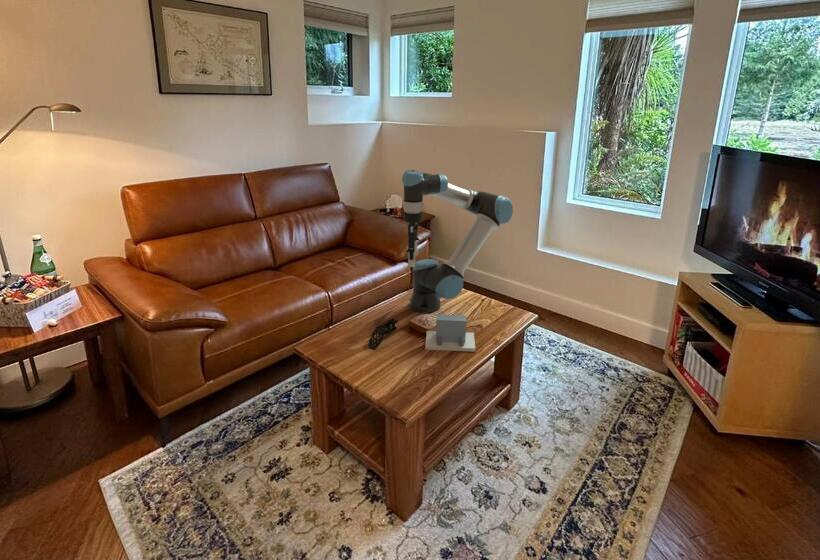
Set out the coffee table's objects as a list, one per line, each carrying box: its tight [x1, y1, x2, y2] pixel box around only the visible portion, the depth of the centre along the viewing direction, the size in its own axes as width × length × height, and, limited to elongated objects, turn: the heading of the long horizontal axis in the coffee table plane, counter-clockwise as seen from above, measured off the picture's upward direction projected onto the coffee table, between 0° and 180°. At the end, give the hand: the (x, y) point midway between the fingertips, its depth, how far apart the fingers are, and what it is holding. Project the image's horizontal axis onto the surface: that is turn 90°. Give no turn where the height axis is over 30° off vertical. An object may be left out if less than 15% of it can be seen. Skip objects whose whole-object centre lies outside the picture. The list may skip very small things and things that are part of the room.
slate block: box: [435, 314, 467, 343], centre depth 191 cm, size 12×5×10 cm, turn 85°
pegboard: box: [424, 330, 476, 353], centre depth 192 cm, size 20×13×4 cm, turn 86°
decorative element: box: [368, 318, 398, 351], centre depth 196 cm, size 22×5×6 cm, turn 158°
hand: (412, 261), depth 195 cm, fingers open, 13 cm apart
